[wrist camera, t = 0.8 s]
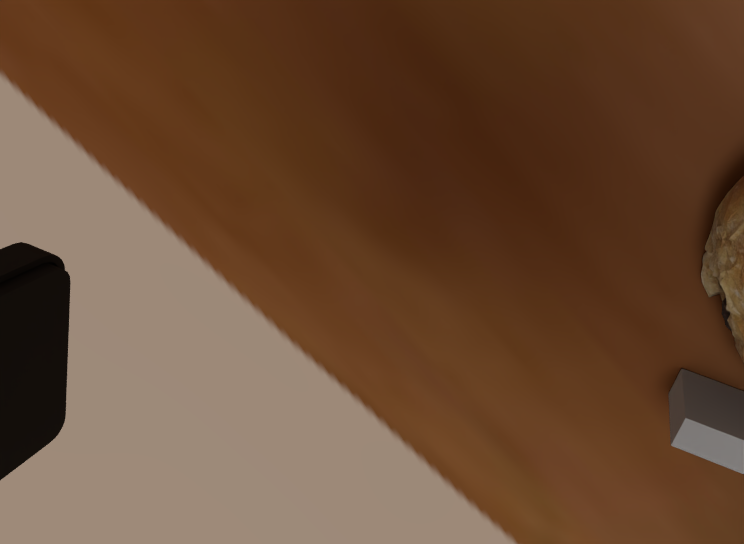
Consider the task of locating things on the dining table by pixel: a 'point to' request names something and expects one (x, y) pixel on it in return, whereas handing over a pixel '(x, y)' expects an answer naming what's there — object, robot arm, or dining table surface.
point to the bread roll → (728, 262)
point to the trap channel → (707, 419)
